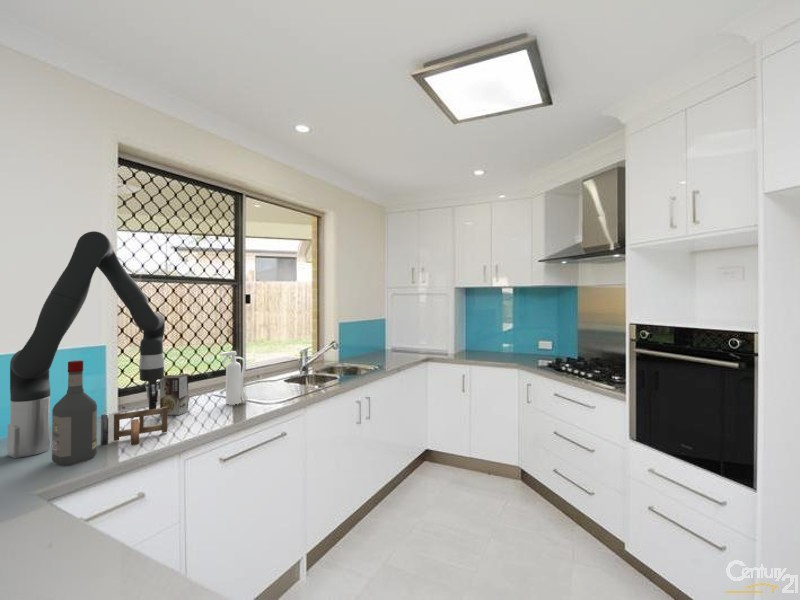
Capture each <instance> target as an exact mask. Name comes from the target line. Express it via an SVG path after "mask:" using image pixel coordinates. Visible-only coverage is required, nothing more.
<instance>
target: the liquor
mask: <svg viewBox="0 0 800 600" xmlns="http://www.w3.org/2000/svg"><path fill="white" fill-rule="evenodd" d="M83 371H84V360H71V361H67V373H68V374H67V375H68V377H67V378H68V379H67V390H66V393H65V395H63V397H61V399H59V400H58V401H57V402H56V404H54V406H53V407H52V410H51V413H52V414H51V415H52V416H51V418H52V419H51V421H52V422H51V424H52V425H51V429H52V431H51V432H52V433H51V460H52V462H53V463H54V464H56V465H58V466H60V467H65V466H67V467H68V466H73V465H76V464H80V463H83V462H86V461H90V460H92V459H93V458H94V457H95V456H96V454H97V451H98V450H97V446H98V445H97V441H98V440H97V439H98V438H97V433H98V431H97V427H98V405H97V404H98V403H97V402H96V400H95V399H93V397H91V396H89V395H88V394H87V393H86V392H85V390H84V385H83V384H84V381H83V379H84V377H83V373H84V372H83Z"/></svg>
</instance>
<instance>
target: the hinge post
mask: <svg viewBox="0 0 800 600" xmlns="http://www.w3.org/2000/svg"><path fill="white" fill-rule="evenodd" d="M108 444H109V413H102V414H101V415H100V446H106V445H108Z"/></svg>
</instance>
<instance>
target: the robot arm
mask: <svg viewBox="0 0 800 600" xmlns="http://www.w3.org/2000/svg"><path fill="white" fill-rule="evenodd" d="M96 269H99V270H100V272H101V273H102V275H104V276H105V278H106V279H107V281H108V282H109V283H110V285H111V287H112V288H113V290H114V292H115V293H116V294H117V296H118V297H119V299H120V300H121V302H122V303H123V304H124V306H125V307H126V308H127V309H128V312H129V313H130V315H131V318H132V320H133V322H134V323H135V325H136V326H137V327H138V328H139V329H140V330H141V331H142V332H143V336H142V339H141V341H140V344H139V348H140V349H139V351H140V352H139V353H140V354H139V381H141V382H147V384H145V390H146V398H147V403H148V410H149V409H156V408H157V404H158V397H159V390H160V383H159V382H157V381H160V379H163V378H164V376H165V358H164V344H163V340H164V339H163V338H164V334H165V323H166V322H165V318H164V316H163V315H162V314H161V313H160V312H157V311H153V309H152V308H151V306H150V305H149V303H150V302H149V299H148V297H147V296H146V295H145V293H144V292H143V291H142V289H141V288H140V286H139V285H138V284H137V282H136V281H135V280H134V279H133V277H131V275H130V274H129V273H128V272H127V271H126V269H125V268H124V266H123V265H122V264H121V261H120V260H119V258H118V257H117V254H116V252H115V250H114V247H113V244H112V242H111V240H110V239H109V237H108V236H106V235H105V234H104V233H102V232H100V231H93V230H92V231H88V232H86V233H83V234H82V235H81V236H80V237H79V238H78V240H77V242H76V245H75V247H74V249H73V252H72V255H71V257H70V259H69V261H68V263H67V266H65V269H64V270H63V272H62V273H61V275H59V278H58V280H57V281H56V283H54V286H53V287H52V289H51V291H50V292H49V294H48V296H47V297H46V299H45V301H44V304H43V306H42V307H41V310H40V313H39V314H38V315H39V316H38V318H37V321H36V325H35V327H34V330H33V332H32V333H31V336H30V338H28V339H27V342H26V343H25V344H24V346H23V347H22V349H20V350H18V351H17V352H16V353H14V354H13V355H12V357H11V358H10V361H9V362H10V363H9V393H10V398H9V399H10V404H9V405H10V407H9V408H10V415H9V416H10V417H9V423H8V424H7V443H6V444H7V445H6V446H7V455H8V456H9V457H11V458H12V459H17V458H23V457H24V458H25V457H30V456H35V455H38V454H43V453H45V452H46V451H49V450H50V448H51V447H50V446H51V445H50V444H51V383H50V382H51V381H50V369H51V367H52V365H53V362H54V359H55V356H56V354H57V351H58V348H59V346H60V344H61V341H62V340H63V338H64V336H65V335H66V333H67V332H68V330H69V329H70V327H71V326H72V324H73V323H74V321H75V320H76V318H77V317H78V315H79V313H80V311H81V309H82V307H83V306H84V304H85V302H86V299H87V296H88V294H89V291H90V287H91V282H92V279H93V276H94V274H95V271H96Z"/></svg>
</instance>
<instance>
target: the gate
mask: <svg viewBox="0 0 800 600" xmlns="http://www.w3.org/2000/svg"><path fill="white" fill-rule="evenodd" d="M167 412H168V407H162V408H160V407H159V408H157V407H156V409H149V408H148V409H143V410H134V411H127V412H121V413H120V412H117V413H113V441H114V442H116V441H120V438H122V437H128V436H131V428H128V429H121V430H120V424H121V423H120V421H122V420H126V419H127V420H128V419H134V418H135V419H136V418H138V419H139V435H140V434H141V435H142V434H147V433H154V432H158V431H159V432H160V431H161V433H162V434H163V433H168V415H167ZM160 414H162V415H161V424H160V423H159V424H154V425H147V426H144V417H148V416H156V415H160Z"/></svg>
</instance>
